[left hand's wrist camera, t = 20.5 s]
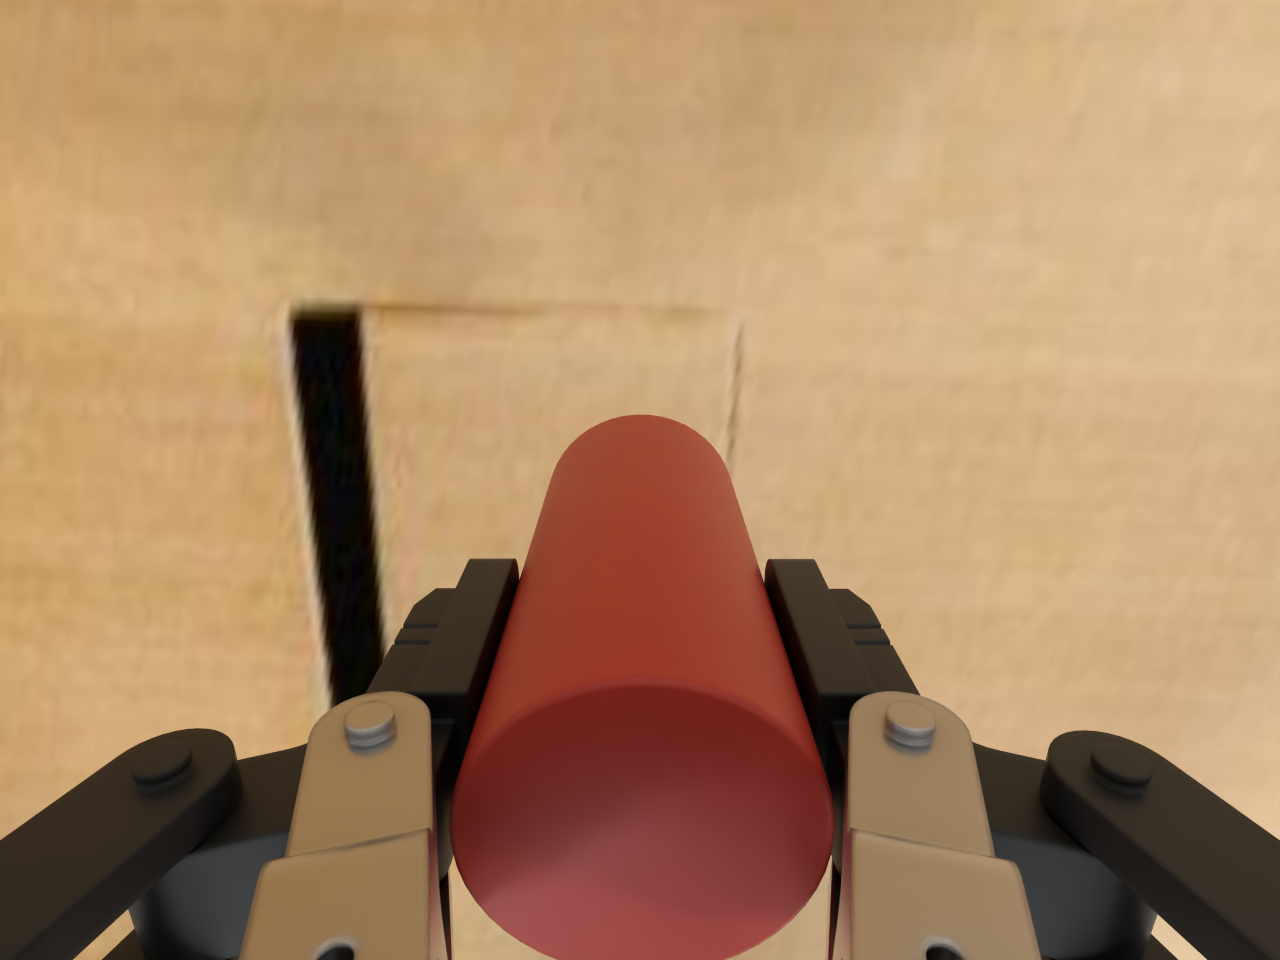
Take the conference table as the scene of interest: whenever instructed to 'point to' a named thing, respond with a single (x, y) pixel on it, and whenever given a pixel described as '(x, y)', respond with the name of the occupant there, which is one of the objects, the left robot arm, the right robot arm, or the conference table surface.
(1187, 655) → the conference table surface
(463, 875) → the can
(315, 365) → the conference table surface
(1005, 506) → the conference table surface
